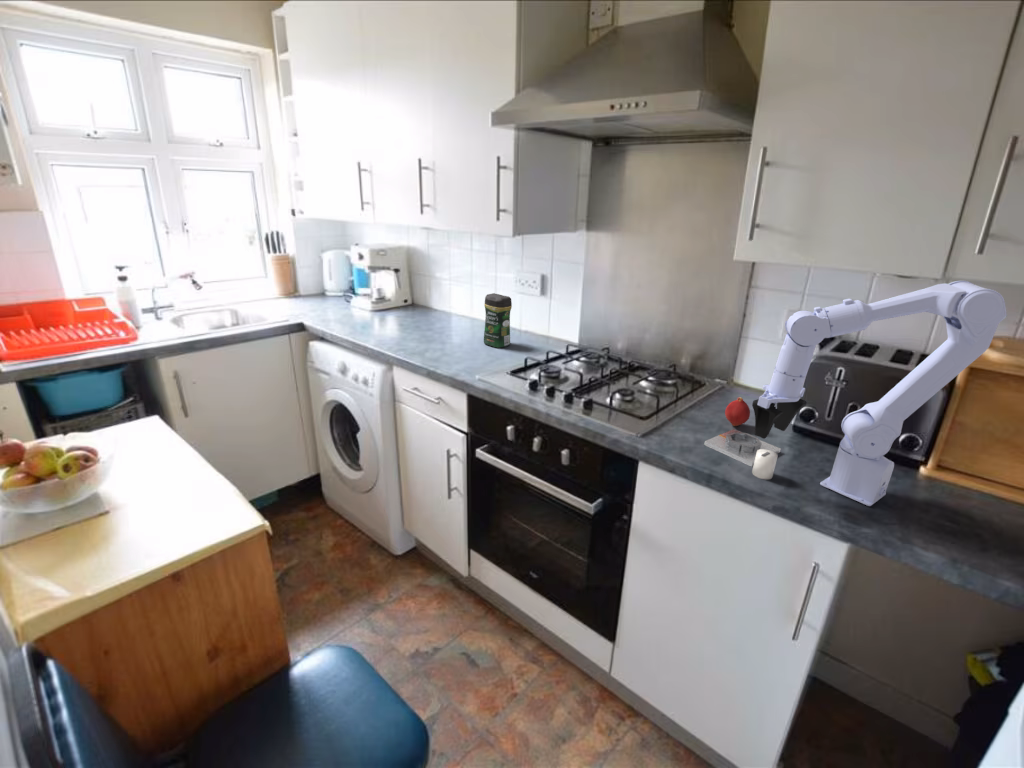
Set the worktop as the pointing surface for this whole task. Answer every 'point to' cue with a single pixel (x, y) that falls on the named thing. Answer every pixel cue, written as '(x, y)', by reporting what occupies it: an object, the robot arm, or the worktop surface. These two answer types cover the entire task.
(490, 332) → the coffee jar
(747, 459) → the hub plate
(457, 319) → the worktop surface
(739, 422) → the onion
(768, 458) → the knob
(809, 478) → the worktop surface
